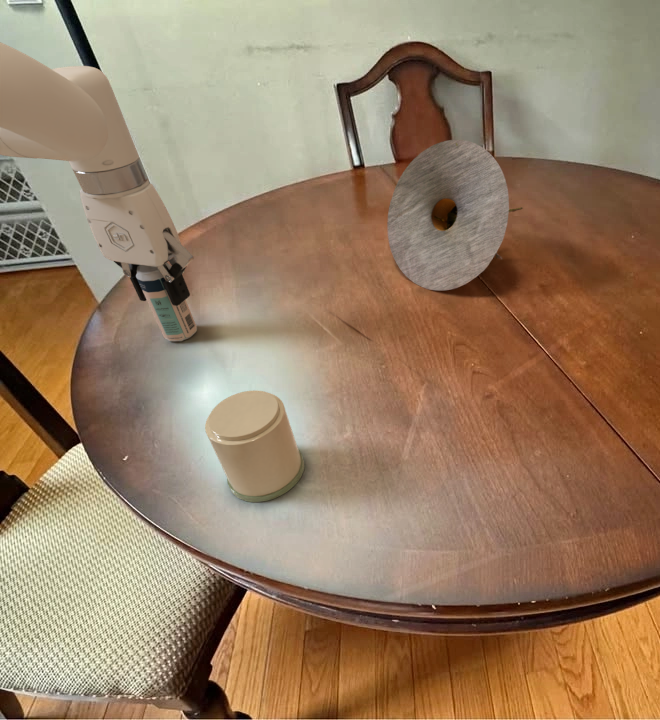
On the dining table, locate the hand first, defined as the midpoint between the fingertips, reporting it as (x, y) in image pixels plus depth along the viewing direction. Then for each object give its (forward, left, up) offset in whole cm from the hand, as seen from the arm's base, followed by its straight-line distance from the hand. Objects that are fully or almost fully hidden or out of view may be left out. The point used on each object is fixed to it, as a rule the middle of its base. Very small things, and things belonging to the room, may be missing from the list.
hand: (165, 297), depth 82 cm
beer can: (0, 0, -7) cm, 7 cm away
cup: (+9, -34, -7) cm, 36 cm away
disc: (+47, +2, -7) cm, 48 cm away
